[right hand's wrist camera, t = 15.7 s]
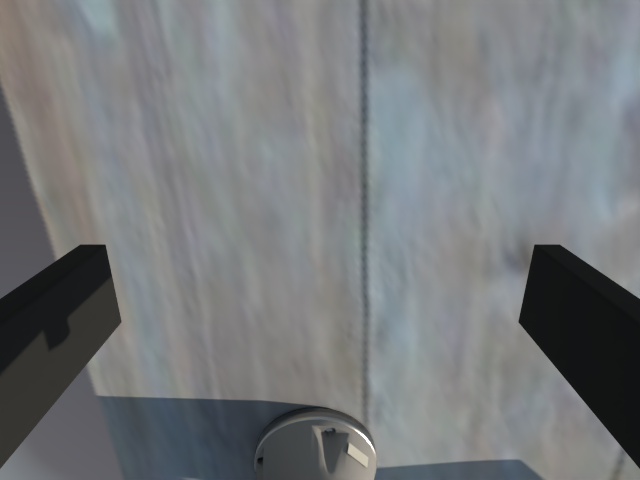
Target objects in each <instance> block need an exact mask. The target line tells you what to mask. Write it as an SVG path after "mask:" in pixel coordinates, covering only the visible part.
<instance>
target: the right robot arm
mask: <svg viewBox="0 0 640 480" xmlns="http://www.w3.org/2000/svg"><path fill="white" fill-rule="evenodd" d="M120 323H121V317H120V313H119V308H118V303H117V298H116V293H115V289H114V284H113V279H112V274H111V269H110V264H109V260H108V255H107V250H106V245H79V246H78V247H76V248H75V249H73V250H72V251H70V252H69V253H67V254H66V255H64V256H63V257H61V258H60V259H59V260H57V261H56V262H54V263H53V264H51V265H50V266H48V267H47V268H45V269H44V270H42V271H41V272H39V273H38V274H36V275H35V276H33V277H32V278H31V279H29V280H28V281H26V282H25V283H23V284H22V285H20V286H19V287H17V288H16V289H14V290H13V291H11V292H10V293H9V294H7V295H6V296H4V297H3V298H1V299H0V468H1V467H2V466H3V465H4V463H5V462H6V461H7V460H8V459H9V457H10V456H11V455H12V454H13V453H14V451H15V450H16V449H17V448H18V446H19V445H20V444H21V443H22V442H23V440H24V439H25V438H26V437H27V436H28V434H29V433H30V432H31V431H32V430H33V428H34V427H35V426H36V425H37V423H38V422H39V421H40V420H41V419H42V417H43V416H44V415H45V414H46V413H47V411H48V410H49V409H50V408H51V407H52V405H53V404H54V403H55V402H56V401H57V399H58V398H59V397H60V396H61V395H62V393H63V392H64V391H65V390H66V388H67V387H68V386H69V385H70V384H71V382H72V381H73V380H74V379H75V378H76V376H77V375H78V374H79V373H80V372H81V370H82V369H83V368H84V367H85V366H86V364H87V363H88V362H89V361H90V359H91V358H92V357H93V356H94V355H95V353H96V352H97V351H98V350H99V349H100V347H101V346H102V345H103V344H104V343H105V341H106V340H107V339H108V338H109V336H110V335H111V334H112V333H113V332H114V330H115V329H116V328H117V327H118V326H119V324H120ZM519 323H520V324H521V326H522V327H523V328H524V329H525V330H526V332H527V333H528V334H529V335H530V336H531V338H532V339H533V340H534V341H535V343H536V344H537V345H538V346H539V347H540V349H541V350H542V351H543V352H544V353H545V355H546V356H547V357H548V358H549V359H550V361H551V362H552V363H553V364H554V366H555V367H556V368H557V369H558V370H559V372H560V373H561V374H562V375H563V376H564V378H565V379H566V380H567V381H568V382H569V384H570V385H571V386H572V387H573V388H574V390H575V391H576V392H577V393H578V395H579V396H580V397H581V398H582V399H583V401H584V402H585V403H586V404H587V405H588V407H589V408H590V409H591V410H592V411H593V413H594V414H595V415H596V416H597V418H598V419H599V420H600V421H601V422H602V424H603V425H604V426H605V427H606V428H607V430H608V431H609V432H610V433H611V434H612V436H613V437H614V438H615V439H616V440H617V442H618V443H619V444H620V445H621V447H622V448H623V449H624V450H625V451H626V453H627V454H628V455H629V456H630V457H631V459H632V460H633V461H634V462H635V463H636V465H637V466H638V467H639V468H640V299H639V298H637V297H636V296H634V295H633V294H632V293H630V292H629V291H627V290H626V289H624V288H623V287H621V286H620V285H618V284H617V283H615V282H614V281H612V280H611V279H609V278H608V277H607V276H605V275H604V274H602V273H601V272H599V271H598V270H596V269H595V268H593V267H592V266H590V265H589V264H587V263H586V262H584V261H583V260H581V259H580V258H579V257H577V256H576V255H574V254H573V253H571V252H570V251H568V250H567V249H565V248H564V247H562V246H561V245H534V250H533V255H532V260H531V264H530V269H529V274H528V279H527V284H526V289H525V293H524V298H523V303H522V308H521V313H520V317H519ZM254 468H255V473H256V478H257V480H374V478H375V474H376V470H377V459H376V452H375V446H374V442H373V439H372V437H371V435H370V433H369V432H368V431H367V429H366V428H365V427H364V426H363V425H362V424H361V423H360V422H358V421H357V420H356V419H354V418H353V417H351V416H349V415H347V414H344V413H342V412H339V411H335V410H331V409H325V408H306V409H300V410H295V411H292V412H289V413H287V414H284V415H282V416H280V417H279V418H277V419H275V420H274V421H273V422H271V423H270V424H269V425H268V426H267V427H266V428H265V430H264V431H263V432H262V434H261V436H260V438H259V440H258V443H257V448H256V454H255V460H254Z"/></svg>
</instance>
